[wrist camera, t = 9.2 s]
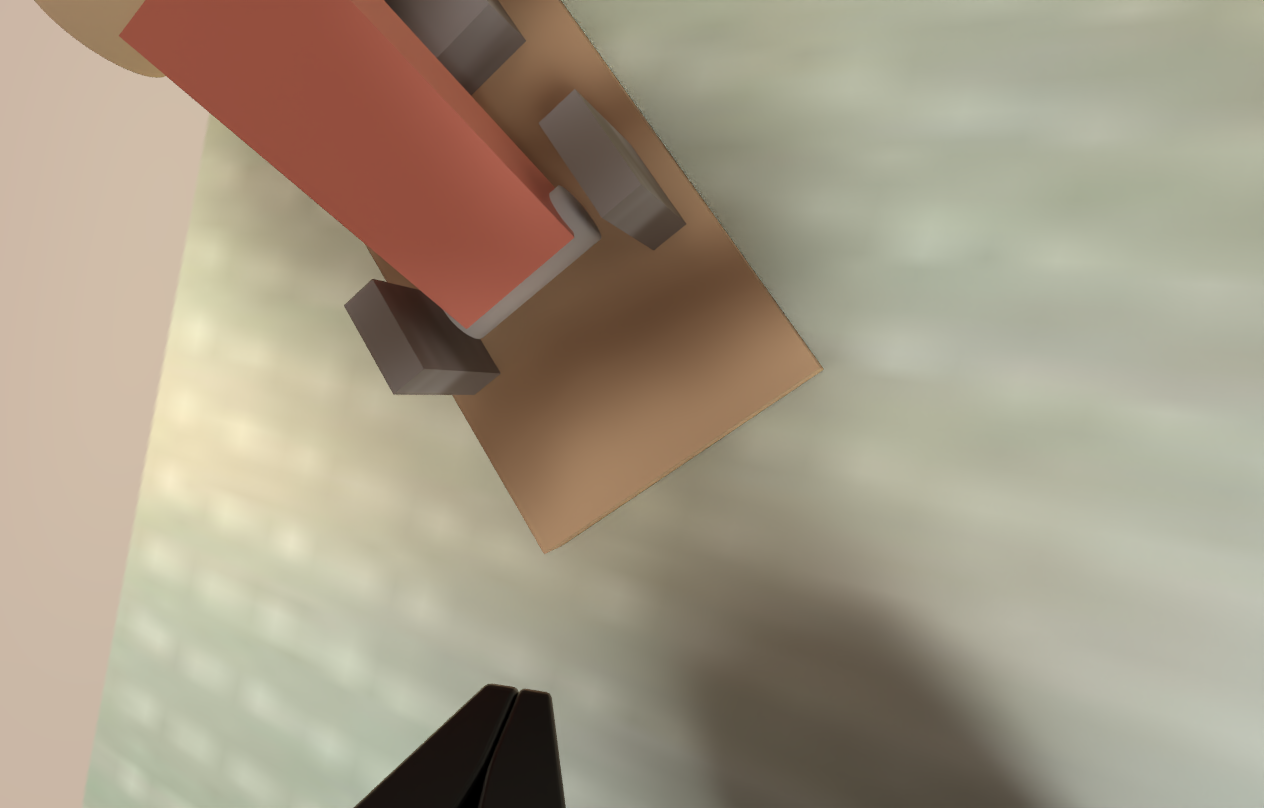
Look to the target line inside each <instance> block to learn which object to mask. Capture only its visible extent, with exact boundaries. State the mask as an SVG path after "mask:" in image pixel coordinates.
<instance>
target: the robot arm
mask: <svg viewBox="0 0 1264 808" xmlns="http://www.w3.org/2000/svg"><path fill="white" fill-rule="evenodd" d="M354 808H566V806H565V798H564V791H563V783H562V775H561V767H560V759H559V751H558V743H557V735H556V728H555V720H554V712H553V704H552V697H551V695H550V694H549V693H547V692H542V691H536V690H530V689H522V690H521V691H520V692H518V690H517V689H516V688H515V687H510V686H504V685H497V684H488V685H486V686H484V687H483V688H482V689H481V690H480V691H479V692H477V693H476V694H475V695H474V696H473V697H472V698H471V699H470V700H469V701H468V702H467V703H466V704H465V705H464V706H462V707H461V708H460V709H459V710H458V711H457V712H456V713H455V714H454V715H453V716H452V717H451V718H450V719H448V720H447V721H446V722H445V723H444V724H443V725H442V726H441V727H440V728H439V729H438V730H437V731H436V732H434V733H433V734H432V735H431V736H430V737H429V738H428V739H427V740H426V741H425V742H424V743H423V744H422V745H420V746H419V747H418V748H417V749H416V750H415V751H414V752H413V753H412V754H411V755H410V756H409V757H408V758H407V759H405V760H404V761H403V762H402V763H401V764H400V765H399V766H398V767H397V768H396V769H395V770H394V771H393V772H391V773H390V774H389V775H388V776H387V777H386V778H385V779H384V780H383V781H382V782H381V783H380V784H379V785H377V786H376V787H375V788H374V789H373V790H372V791H371V792H370V793H369V794H368V795H367V796H366V797H365V798H363V799H362V800H361V801H360V802H359V803H358V804H357V805H356V806H355V807H354Z"/></svg>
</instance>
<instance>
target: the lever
mask: <svg viewBox="0 0 1264 808" xmlns="http://www.w3.org/2000/svg"><path fill="white" fill-rule="evenodd" d="M34 1H35V2H36V3H37V4H38V5H39V6H40V7H41V9H43V11H44V12H45V13H46V14H47V15H48V16H49V17H50V18H51V19H52V20H54V21H55V22H56V23H57V24H58V25H59V26H60V27H61V28H63V29H64V30H65V31H66V32H67V33H69V34H70V35H71V36H73V37H74V38H75V39H76V40H78V41H79V42H81V43H82V44H83V45H85V46H86V47H88V48H89V49H91V50H92V51H94V52H95V53H97V54H99V55H100V56H102V57H104V58H105V59H107V60H109V61H111V62H113V63H115V64H116V65H118V66H121V67H123V68H125V69H127V70H130V71H132V72H135V73H138V74H141V75H144V76H149V77H156V78H157V77H164V76H167V77H168V78H169V79H170V80H172V81H173V82H174V83H175V84H176V85H177V86H179V87H180V88H181V89H182V90H183V91H185V92H186V93H187V94H189V96H191V97H192V98H193V99H194V100H195V101H197V102H198V103H199V104H200V105H201V106H203V107H204V108H205V109H206V110H207V111H208V112H209V113H211V114H212V115H213V116H214V117H215V118H217V119H218V120H219V121H220V122H221V123H223V124H224V125H225V126H226V127H227V128H228V129H230V130H231V131H232V132H233V133H234V134H236V135H237V136H238V137H239V138H240V139H241V140H243V141H244V142H245V143H246V144H247V145H249V146H250V147H251V148H252V149H253V150H255V151H256V152H257V153H258V154H259V155H260V156H262V157H263V158H264V159H265V160H266V161H268V162H269V163H270V164H271V165H272V166H274V167H275V168H276V169H277V170H278V171H279V172H281V173H282V174H283V175H284V176H285V177H287V178H288V179H289V180H290V181H291V182H292V183H294V184H295V185H296V186H297V187H298V188H300V189H301V190H302V191H303V192H304V193H306V194H307V195H308V196H309V197H310V198H311V199H313V200H314V201H315V202H316V203H317V204H319V205H320V206H321V207H322V208H323V209H324V210H326V211H327V212H328V213H329V214H330V215H332V216H333V217H334V218H335V219H336V220H338V221H339V222H340V223H341V224H342V225H343V226H345V227H346V228H347V229H348V230H349V231H351V232H352V233H353V234H354V235H355V236H356V237H358V238H359V239H360V240H361V241H362V242H364V243H365V244H366V245H367V246H368V247H370V248H371V249H372V250H373V251H374V252H375V253H377V254H378V255H379V256H380V257H381V258H383V259H384V260H385V261H386V262H387V263H388V264H390V265H391V266H392V267H393V268H394V269H396V270H397V271H398V272H399V273H400V274H402V275H403V276H404V277H405V278H406V279H407V280H409V281H410V282H411V283H412V284H413V285H415V286H416V287H417V288H418V289H419V290H420V291H422V292H423V293H424V294H425V295H426V296H428V297H429V298H430V299H431V300H432V301H434V302H435V303H436V304H437V305H438V306H439V307H441V308H442V309H443V310H444V312H445V313H446V315H447V316H448V317H449V319H450V320H451V321H452V322H453V323H454V324H455V325H456V326H457V327H458V328H459V329H460V330H461V331H463V332H464V333H465V334H467V335H469V336H471V337H473V338H476V339H481V338H483V337H484V336H486V335H487V334H488V333H489V332H490V331H492V330H493V329H494V328H495V327H496V326H497V325H499V324H500V323H501V322H502V321H503V320H505V319H506V318H507V317H508V316H509V315H511V314H512V313H513V312H514V311H515V310H517V309H518V308H519V307H520V306H521V305H523V304H524V303H525V302H526V301H527V300H529V299H530V298H531V297H532V296H533V295H535V294H536V293H537V292H538V291H539V290H541V289H542V288H543V287H544V286H545V285H546V284H548V283H549V282H550V281H551V280H552V279H554V278H555V277H556V276H557V275H558V274H560V273H561V272H562V271H563V270H564V269H566V268H567V267H568V266H569V265H570V264H572V263H573V262H574V261H575V260H576V259H578V258H579V257H580V256H581V255H582V254H584V253H585V252H586V251H587V250H588V249H590V248H591V247H592V246H593V245H594V244H596V243H597V242H598V241H599V240H600V239H601V238H602V237H601V233H600V231H599V229H598V227H597V225H596V224H595V222H594V221H593V219H592V218H591V216H590V215H589V214H588V212H587V211H586V210H585V208H584V207H583V206H582V205H581V204H580V203H579V201H578V200H577V199H576V198H575V197H574V196H573V195H572V194H571V193H570V192H569V191H568V190H566V189H565V188H564V187H562V186H560V185H558V186H557V187H556V188H555V187H554V186H553V185H552V184H551V183H550V181H549V180H548V179H547V178H546V177H545V176H544V175H543V174H542V173H541V172H540V171H539V169H538V168H537V167H536V166H535V165H534V164H533V163H532V162H531V161H530V160H529V159H528V157H527V156H526V155H525V154H524V153H523V152H522V151H521V150H520V149H519V148H518V146H517V145H516V144H515V143H514V142H513V141H512V140H511V139H510V138H509V137H508V136H507V134H506V133H505V132H504V131H503V130H502V129H501V128H500V127H499V126H498V125H497V124H496V122H495V121H494V120H493V119H492V118H491V117H490V116H489V115H488V114H487V113H486V112H485V110H484V109H483V108H482V107H481V106H480V105H479V104H478V103H477V102H476V101H475V99H474V98H473V97H472V96H471V95H470V94H469V93H468V92H467V91H466V90H465V89H464V87H463V86H462V85H461V84H460V83H459V82H458V81H457V80H456V79H455V78H454V77H453V75H452V74H451V73H450V72H449V71H448V70H447V69H446V68H445V67H444V66H443V64H442V63H441V62H440V61H439V60H438V59H437V58H436V57H435V56H434V55H433V54H432V52H431V51H430V50H429V49H428V48H427V47H426V46H425V45H424V44H423V43H422V42H421V40H420V39H419V38H418V37H417V36H416V35H415V34H414V33H413V32H412V31H411V29H410V28H409V27H408V26H407V25H406V24H405V23H404V22H403V21H402V20H401V19H400V17H399V16H398V15H397V14H396V13H395V12H394V11H393V10H392V9H391V8H390V7H389V5H388V4H387V3H386V2H385V1H384V0H34Z"/></svg>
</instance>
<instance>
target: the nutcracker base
mask: <svg viewBox="0 0 1264 808" xmlns="http://www.w3.org/2000/svg"><path fill="white" fill-rule="evenodd" d="M384 1H385V2H386V3H387V4H388V5H389V7H390V8H391V9H392V10H393V11H394V12H395V13H396V14H397V15H398V16H399V17H400V19H401V20H402V21H403V22H404V23H405V24H406V25H407V26H408V27H409V28H410V29H411V31H412V32H413V33H414V34H415V35H416V36H417V37H418V38H419V39H420V40H421V42H422V43H423V44H424V45H425V46H426V47H427V48H428V49H429V50H430V51H431V52H432V54H433V55H434V56H435V57H436V58H437V59H438V60H439V61H440V62H441V63H442V64H443V66H444V67H445V68H446V69H447V70H448V71H449V72H450V73H451V74H452V75H453V77H454V78H455V79H456V80H457V81H458V82H459V83H460V84H461V85H462V86H463V87H464V89H465V90H466V91H467V92H468V93H469V94H470V95H471V96H472V97H473V98H474V99H475V101H476V102H477V103H478V104H479V105H480V106H481V107H482V108H483V109H484V110H485V112H486V113H487V114H488V115H489V116H490V117H491V118H492V119H493V120H494V121H495V122H496V124H497V125H498V126H499V127H500V128H501V129H502V130H503V131H504V132H505V133H506V134H507V136H508V137H509V138H510V139H511V140H512V141H513V142H514V143H515V144H516V145H517V146H518V148H519V149H520V150H521V151H522V152H523V153H524V154H525V155H526V156H527V157H528V159H529V160H530V161H531V162H532V163H533V164H534V165H535V166H536V167H537V168H538V169H539V171H540V172H541V173H542V174H543V175H544V176H545V177H546V178H547V179H548V180H549V181H550V183H551V184H552V185H553V186H554V187H555V188H556V187H557V186H558V185H560V186H562V187H564V188H565V189H566V190H568V191H569V192H570V193H571V194H572V195H573V196H574V197H575V198H576V199H577V200H578V201H579V203H580V204H581V205H582V206H583V207H584V208H585V210H586V211H587V212H588V214H589V215H590V216H591V218H592V219H593V221H594V222H595V224H596V225H597V227H598V229H599V231H600V233H601V237H602V238H601V239H600V240H599V241H598V242H597V243H596V244H594V245H593V246H592V247H591V248H590V249H588V250H587V251H586V252H585V253H584V254H582V255H581V256H580V257H579V258H578V259H576V260H575V261H574V262H573V263H572V264H570V265H569V266H568V267H567V268H566V269H564V270H563V271H562V272H561V273H560V274H558V275H557V276H556V277H555V278H554V279H552V280H551V281H550V282H549V283H548V284H546V285H545V286H544V287H543V288H542V289H541V290H539V291H538V292H537V293H536V294H535V295H533V296H532V297H531V298H530V299H529V300H527V301H526V302H525V303H524V304H523V305H521V306H520V307H519V308H518V309H517V310H515V311H514V312H513V313H512V314H511V315H509V316H508V317H507V318H506V319H505V320H503V321H502V322H501V323H500V324H499V325H497V326H496V327H495V328H494V329H493V330H492V331H490V332H489V333H488V334H487V335H486V336H484V337H483V338H481V339H476V338H473V337H471V336H469V335H467V334H465V333H464V332H463V331H461V330H460V329H459V328H458V327H457V326H456V325H455V324H454V323H453V322H452V321H451V320H450V319H449V317H448V316H447V315H446V313H445V312H444V310H443V309H442V308H441V307H439V306H438V305H437V304H436V303H435V302H434V301H432V300H431V299H430V298H429V297H428V296H426V295H425V294H424V293H423V292H422V291H420V290H419V289H418V288H417V287H416V286H415V285H413V284H412V283H411V282H410V281H409V280H407V279H406V278H405V277H404V276H403V275H402V274H400V273H399V272H398V271H397V270H396V269H394V268H393V267H392V266H391V265H390V264H388V263H387V262H386V261H385V260H384V259H383V258H381V257H380V256H379V255H378V254H377V253H375V252H374V251H373V250H372V249H371V248H370V247H368V246H367V245H366V244H365V245H366V247H367V248H368V250H369V252H370V254H371V255H372V257H373V259H374V260H375V262H376V264H377V266H378V267H379V269H380V271H381V273H382V274H383V276H384V278H385V279H386V281H387V282H383V281H379V280H375V279H372V280H371V281H370V282H369V283H368V284H366V285H365V286H364V287H363V288H362V289H361V290H360V291H359V292H358V293H357V294H356V295H355V296H354V297H353V298H352V299H350V300H349V301H348V302H347V303H346V304H345V305H344V306H345V308H346V310H347V312H348V314H349V315H350V317H351V319H352V321H353V323H354V324H355V326H356V328H357V330H358V331H359V333H360V335H361V337H362V339H363V340H364V342H365V344H366V346H367V348H368V349H369V351H370V353H371V355H372V357H373V358H374V360H375V362H376V364H377V366H378V367H379V369H380V371H381V373H382V374H383V376H384V378H385V380H386V382H387V383H388V385H389V387H390V389H391V391H392V392H393V394H401V395H453V397H454V399H455V401H456V402H457V404H458V406H459V407H460V409H461V411H462V413H463V414H464V416H465V418H466V420H467V421H468V423H469V425H470V426H471V428H472V430H473V432H474V433H475V435H476V437H477V439H478V440H479V442H480V444H481V446H482V447H483V449H484V451H485V452H486V454H487V456H488V458H489V459H490V461H491V463H492V465H493V466H494V468H495V470H496V471H497V473H498V475H499V477H500V478H501V480H502V482H503V484H504V485H505V487H506V489H507V490H508V492H509V494H510V496H511V497H512V499H513V501H514V503H515V504H516V506H517V508H518V510H519V511H520V513H521V515H522V516H523V518H524V520H525V522H526V523H527V525H528V527H529V529H530V530H531V532H532V534H533V535H534V537H535V539H536V541H537V542H538V544H539V546H540V548H541V549H542V551H543V553H544V554H545V553H547V552H550V551H552V550H554V549H556V548H558V547H560V546H562V545H564V544H565V543H567V542H568V541H570V540H571V539H573V538H574V537H576V536H577V535H579V534H580V533H582V532H583V531H585V530H586V529H588V528H589V527H591V526H592V525H593V524H595V523H596V522H598V521H599V520H601V519H602V518H604V517H605V516H607V515H608V514H610V513H611V512H613V511H614V510H616V509H617V508H619V507H620V506H622V505H623V504H625V503H626V502H628V501H629V500H631V499H632V498H634V497H635V496H637V495H638V494H640V493H641V492H643V491H644V490H646V489H647V488H648V487H650V486H651V485H653V484H654V483H656V482H657V481H659V480H660V479H662V478H663V477H665V476H666V475H668V474H669V473H671V472H672V471H674V470H675V469H677V468H678V467H680V466H681V465H683V464H684V463H686V462H687V461H689V460H690V459H692V458H693V457H695V456H696V455H698V454H699V453H700V452H702V451H703V450H705V449H706V448H708V447H709V446H711V445H712V444H714V443H715V442H717V441H718V440H720V439H721V438H723V437H724V436H726V435H727V434H729V433H730V432H732V431H733V430H735V429H736V428H738V427H739V426H741V425H742V424H744V423H745V422H747V421H748V420H750V419H751V418H753V417H754V416H755V415H757V414H758V413H760V412H761V411H763V410H764V409H766V408H767V407H769V406H770V405H772V404H773V403H775V402H776V401H778V400H779V399H781V398H782V397H784V396H785V395H787V394H788V393H790V392H791V391H793V390H794V389H796V388H797V387H799V386H800V385H802V384H803V383H805V382H806V381H808V380H809V379H810V378H812V377H813V376H815V375H816V374H818V373H819V372H821V371H822V370H824V369H823V368H822V366H821V365H820V363H819V362H818V361H817V359H816V358H815V356H814V355H813V354H812V352H811V351H810V349H809V348H808V347H807V345H806V344H805V342H804V341H803V339H802V338H801V337H800V335H799V334H798V332H797V331H796V330H795V328H794V327H793V325H792V324H791V323H790V321H789V320H788V318H787V317H786V316H785V314H784V313H783V311H782V310H781V309H780V307H779V306H778V304H777V303H776V302H775V300H774V299H773V297H772V296H771V295H770V293H769V292H768V290H767V289H766V288H765V286H764V285H763V283H762V282H761V281H760V279H759V278H758V276H757V275H756V274H755V272H754V271H753V269H752V268H751V267H750V265H749V264H748V262H747V261H746V260H745V258H744V257H743V255H742V254H741V253H740V251H739V250H738V248H737V247H736V245H735V244H734V243H733V241H732V240H731V238H730V237H729V236H728V234H727V233H726V231H725V230H724V229H723V227H722V226H721V224H720V223H719V222H718V220H717V219H716V217H715V216H714V215H713V213H712V212H711V210H710V209H709V208H708V206H707V205H706V203H705V202H704V201H703V199H702V198H701V196H700V195H699V194H698V192H697V191H696V189H695V188H694V187H693V185H692V184H691V182H690V181H689V180H688V178H687V177H686V175H685V174H684V173H683V171H682V170H681V168H680V167H679V166H678V164H677V163H676V161H675V160H674V159H673V157H672V156H671V154H670V153H669V151H668V150H667V149H666V147H665V146H664V144H663V143H662V142H661V140H660V139H659V137H658V136H657V135H656V133H655V132H654V130H653V129H652V128H651V126H650V125H649V123H648V122H647V121H646V119H645V118H644V116H643V115H642V114H641V112H640V111H639V109H638V108H637V107H636V105H635V104H634V102H633V101H632V100H631V98H630V97H629V95H628V94H627V93H626V91H625V90H624V88H623V87H622V86H621V84H620V83H619V81H618V80H617V79H616V77H615V76H614V74H613V73H612V72H611V70H610V69H609V67H608V66H607V65H606V63H605V62H604V60H603V59H602V57H601V56H600V55H599V53H598V52H597V50H596V49H595V48H594V46H593V45H592V43H591V42H590V41H589V39H588V38H587V36H586V35H585V34H584V32H583V31H582V29H581V28H580V27H579V25H578V24H577V22H576V21H575V20H574V18H573V17H572V15H571V14H570V13H569V11H568V10H567V8H566V7H565V6H564V4H563V3H562V1H561V0H384Z"/></svg>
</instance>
